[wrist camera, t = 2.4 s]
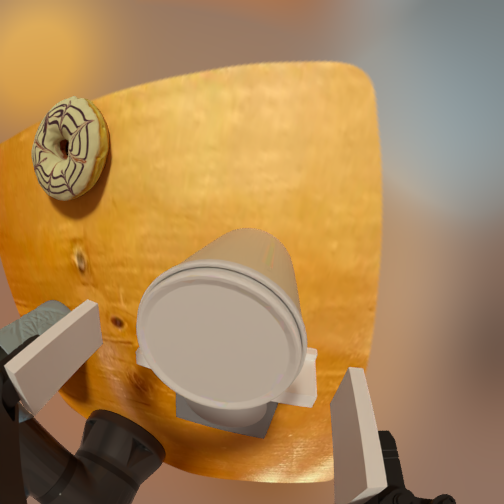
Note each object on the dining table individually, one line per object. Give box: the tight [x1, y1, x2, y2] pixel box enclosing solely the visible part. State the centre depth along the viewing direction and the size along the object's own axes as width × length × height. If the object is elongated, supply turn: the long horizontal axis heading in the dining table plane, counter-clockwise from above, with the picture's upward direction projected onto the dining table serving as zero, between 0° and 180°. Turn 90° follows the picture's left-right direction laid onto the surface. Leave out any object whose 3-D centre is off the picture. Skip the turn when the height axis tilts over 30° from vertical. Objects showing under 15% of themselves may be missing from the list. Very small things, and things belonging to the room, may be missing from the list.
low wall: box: [136, 347, 317, 408], centre depth 24 cm, size 3×16×6 cm, turn 80°
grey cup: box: [0, 300, 71, 361], centre depth 26 cm, size 10×10×12 cm
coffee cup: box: [136, 228, 307, 410], centre depth 19 cm, size 9×9×12 cm
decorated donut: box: [32, 96, 109, 201], centre depth 22 cm, size 10×11×4 cm
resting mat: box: [176, 392, 278, 439], centre depth 30 cm, size 12×12×1 cm
